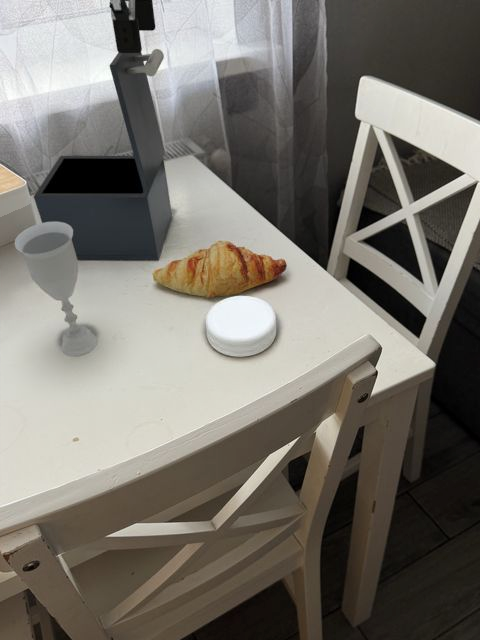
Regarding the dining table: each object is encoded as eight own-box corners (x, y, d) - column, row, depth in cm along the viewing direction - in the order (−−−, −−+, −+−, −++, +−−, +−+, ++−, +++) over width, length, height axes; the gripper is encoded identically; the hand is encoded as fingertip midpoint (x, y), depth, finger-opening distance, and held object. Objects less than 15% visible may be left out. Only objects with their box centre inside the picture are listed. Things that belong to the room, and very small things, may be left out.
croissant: (157, 313, 95) (147, 293, 88) (154, 257, 98) (145, 233, 91) (288, 301, 96) (290, 280, 88) (282, 246, 99) (283, 221, 91)
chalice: (79, 321, 89) (46, 216, 77) (114, 336, 87) (85, 230, 74) (43, 351, 85) (1, 244, 72) (78, 367, 82) (41, 260, 70)
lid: (109, 65, 79) (146, 61, 78) (131, 32, 89) (165, 29, 88) (144, 194, 91) (176, 191, 91) (160, 153, 102) (189, 150, 101)
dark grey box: (54, 260, 101) (33, 196, 93) (77, 216, 111) (60, 155, 103) (158, 260, 100) (147, 196, 92) (172, 216, 110) (163, 155, 102)
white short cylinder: (215, 309, 90) (213, 291, 88) (280, 315, 89) (280, 296, 87) (200, 355, 83) (197, 336, 81) (270, 361, 82) (270, 343, 79)
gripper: (102, -124, 77) (124, 22, 89) (62, -105, 65) (94, 61, 76) (159, -124, 77) (174, 22, 89) (131, -105, 64) (152, 62, 76)
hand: (137, 40), depth 83 cm, fingers open, 9 cm apart
